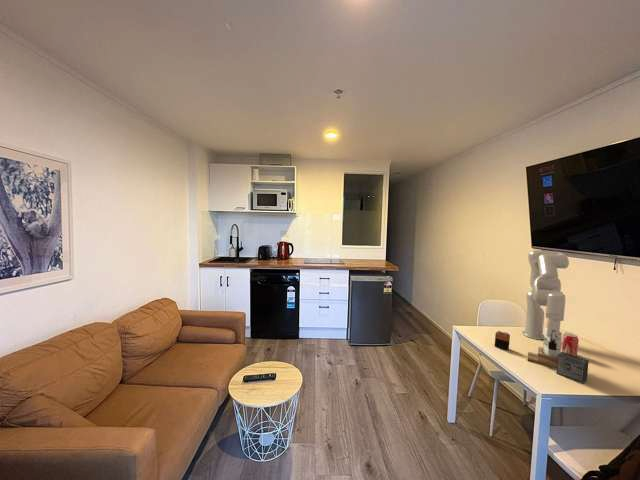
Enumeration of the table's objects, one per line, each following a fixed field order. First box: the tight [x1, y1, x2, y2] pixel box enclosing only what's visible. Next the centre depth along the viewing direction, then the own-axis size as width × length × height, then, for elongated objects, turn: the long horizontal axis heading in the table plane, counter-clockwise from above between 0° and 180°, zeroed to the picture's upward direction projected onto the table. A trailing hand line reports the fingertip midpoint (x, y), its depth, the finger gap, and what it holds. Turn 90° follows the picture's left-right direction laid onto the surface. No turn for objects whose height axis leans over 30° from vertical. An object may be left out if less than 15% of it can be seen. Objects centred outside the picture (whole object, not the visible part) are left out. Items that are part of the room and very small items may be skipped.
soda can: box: [561, 332, 580, 356], centre depth 161 cm, size 7×7×12 cm
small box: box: [555, 351, 589, 384], centre depth 136 cm, size 11×6×10 cm, turn 33°
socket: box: [527, 346, 558, 370], centre depth 150 cm, size 11×20×6 cm, turn 51°
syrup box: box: [542, 327, 563, 357], centre depth 149 cm, size 6×6×14 cm
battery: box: [494, 330, 511, 351], centre depth 167 cm, size 4×7×10 cm, turn 42°
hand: (551, 346), depth 149 cm, fingers closed on syrup box, 7 cm apart
